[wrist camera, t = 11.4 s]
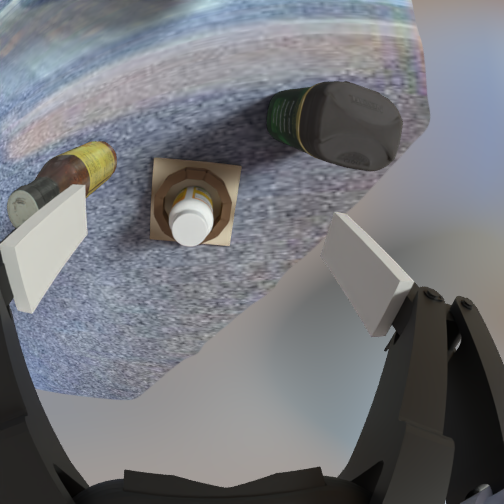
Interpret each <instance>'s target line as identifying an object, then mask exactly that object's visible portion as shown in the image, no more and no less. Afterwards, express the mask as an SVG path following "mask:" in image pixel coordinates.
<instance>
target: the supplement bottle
mask: <svg viewBox="0 0 504 504" xmlns="http://www.w3.org/2000/svg"><path fill="white" fill-rule="evenodd" d="M169 226H170V229H171V231H172V235H173V237H174V239H175V240H176V241H177V242H178V243H180V244H181V245H184V246H196V245H198V244H200V243H201V242H202V241H203V240H204V239H205V238H206V236H207V235H208V234H209V233H210V231H211V229H212V226H213V203H212V199H211V196H210V194H209V193H208V192H207V191H206V190H205V189H203V188H201V187H198V186H189V187H186V188H184V189H182V190H181V191H180V192H179V193H178V194H177V196H176V198H175V200H174V203H173V206H172V209H171V211H170V215H169Z"/></svg>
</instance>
